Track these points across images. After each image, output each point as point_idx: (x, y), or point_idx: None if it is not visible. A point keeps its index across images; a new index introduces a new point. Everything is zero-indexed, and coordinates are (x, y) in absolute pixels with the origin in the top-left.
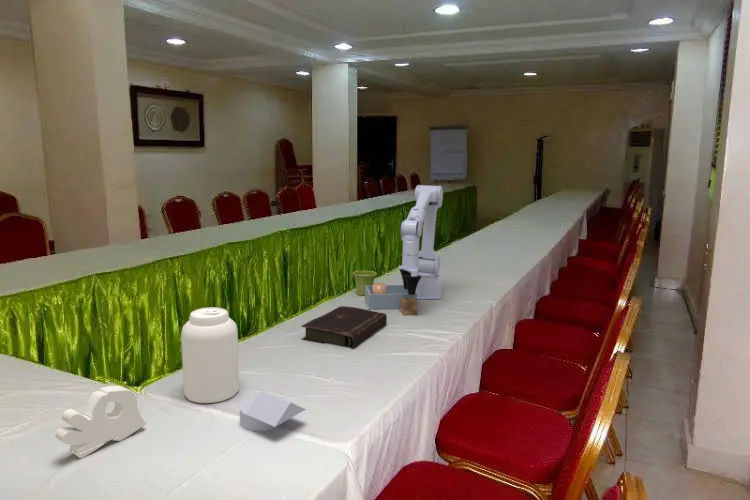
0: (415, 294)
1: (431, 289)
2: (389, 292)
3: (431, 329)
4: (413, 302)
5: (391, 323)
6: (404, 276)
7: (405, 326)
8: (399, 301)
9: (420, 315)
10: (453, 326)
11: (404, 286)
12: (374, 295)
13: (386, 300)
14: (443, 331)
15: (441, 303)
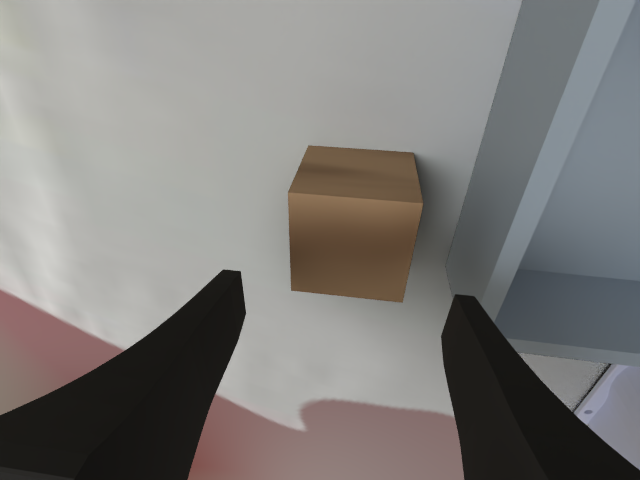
0: None
1: (637, 442)
2: None
3: (66, 227)
4: (291, 262)
5: (117, 2)
6: (504, 443)
7: (75, 99)
8: (491, 187)
9: None
10: (136, 320)
11: (462, 316)
12: None
13: (541, 57)
14: (54, 265)
15: None
